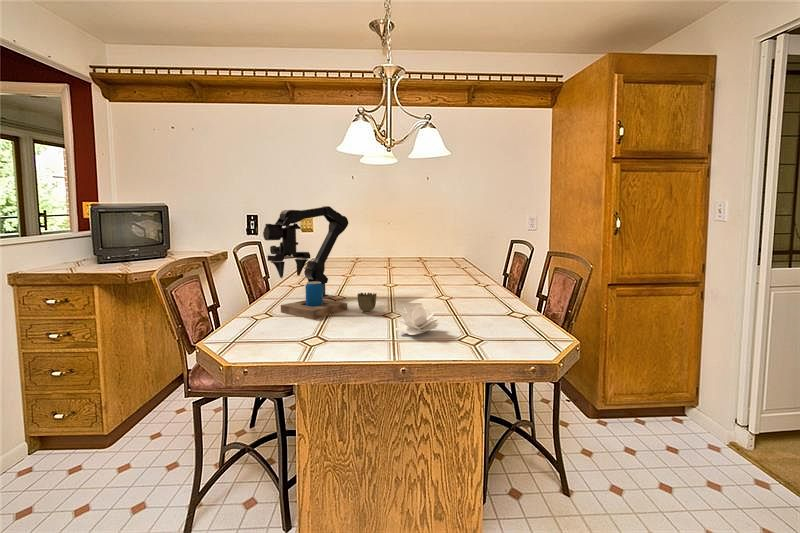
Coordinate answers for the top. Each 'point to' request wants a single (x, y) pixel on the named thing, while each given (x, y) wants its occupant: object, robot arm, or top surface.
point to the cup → (366, 302)
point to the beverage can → (314, 294)
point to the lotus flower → (416, 321)
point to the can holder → (313, 309)
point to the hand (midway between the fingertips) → (290, 276)
